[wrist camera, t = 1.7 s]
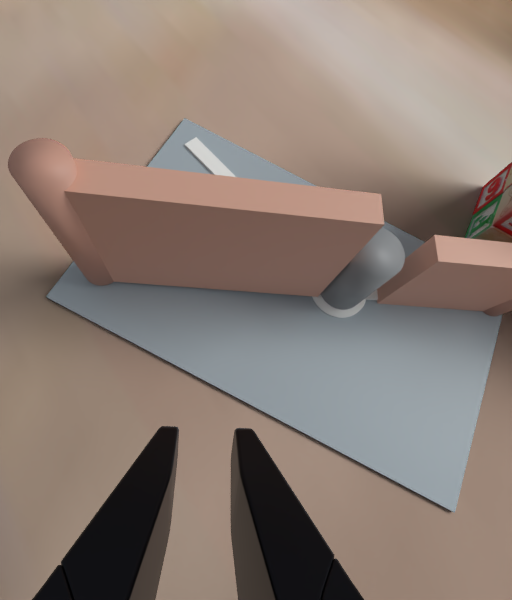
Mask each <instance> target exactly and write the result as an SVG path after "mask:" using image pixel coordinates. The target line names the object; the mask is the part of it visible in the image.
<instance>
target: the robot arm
mask: <svg viewBox="0 0 512 600" xmlns="http://www.w3.org/2000/svg"><path fill="white" fill-rule="evenodd" d="M178 438H179V429H178V427H170V426H162V427H160V428H159V429H158V431H157V432H156V433H155V435H154V436H153V437H152V439H151V440H150V442H149V443H148V444H147V446H146V447H145V448H144V450H143V451H142V452H141V454H140V455H139V456H138V458H137V459H136V460H135V462H134V463H133V465H132V466H131V467H130V469H129V470H128V471H127V473H126V474H125V475H124V477H123V478H122V479H121V481H120V482H119V484H118V485H117V486H116V488H115V489H114V490H113V492H112V493H111V494H110V496H109V497H108V498H107V500H106V501H105V503H104V504H103V505H102V507H101V508H100V509H99V511H98V512H97V513H96V515H95V516H94V517H93V519H92V520H91V522H90V523H89V524H88V526H87V527H86V528H85V530H84V531H83V532H82V534H81V535H80V536H79V538H78V539H77V541H76V542H75V543H74V545H73V546H72V547H71V549H70V550H69V551H68V553H67V554H66V555H65V557H64V558H63V560H62V561H61V565H58V566H57V567H56V569H55V570H54V571H53V573H52V574H51V575H50V577H49V578H48V580H47V581H46V582H45V584H44V585H43V586H42V588H41V589H40V590H39V592H38V593H37V594H36V595H35V597H34V598H33V599H32V600H155V598H156V594H157V589H158V584H159V580H160V575H161V570H162V566H163V561H164V557H165V552H166V547H167V543H168V537H169V532H170V525H171V517H172V507H173V497H174V487H175V477H176V468H177V457H178ZM231 537H232V547H233V556H234V565H235V575H236V584H237V593H238V600H364V599H363V597H362V596H361V594H360V593H359V592H358V590H357V589H356V587H355V586H354V584H353V583H352V581H351V580H350V578H349V577H348V575H347V574H346V572H345V571H344V569H343V568H342V566H341V564H340V563H339V561H338V560H337V559H334V554H333V552H332V551H331V549H330V548H329V546H328V545H327V543H326V542H325V540H324V538H323V537H322V535H321V534H320V532H319V531H318V529H317V528H316V526H315V525H314V523H313V522H312V520H311V518H310V517H309V515H308V514H307V512H306V511H305V509H304V508H303V506H302V505H301V503H300V501H299V500H298V498H297V497H296V495H295V494H294V492H293V491H292V489H291V488H290V486H289V484H288V483H287V481H286V480H285V478H284V477H283V475H282V474H281V472H280V471H279V469H278V468H277V466H276V464H275V463H274V461H273V460H272V458H271V457H270V455H269V454H268V452H267V451H266V449H265V447H264V446H263V444H262V443H261V441H260V440H259V438H258V437H257V435H256V434H255V432H254V431H253V430H252V429H247V428H237V429H236V430H235V432H234V438H233V446H232V453H231Z"/></svg>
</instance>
